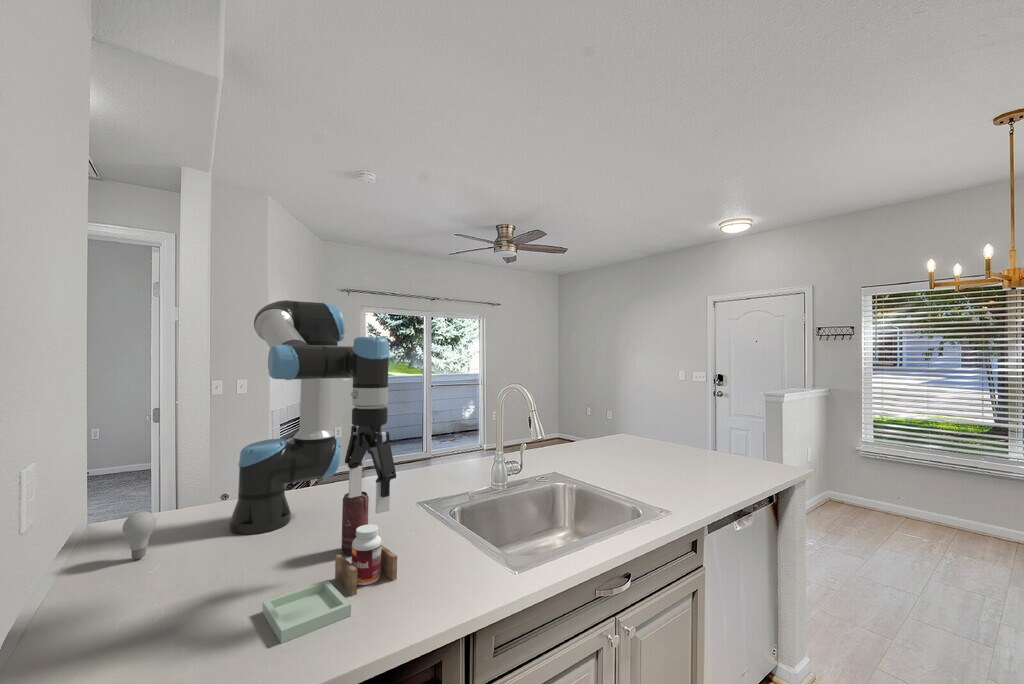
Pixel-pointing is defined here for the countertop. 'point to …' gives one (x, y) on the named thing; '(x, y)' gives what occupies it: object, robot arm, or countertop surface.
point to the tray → (305, 610)
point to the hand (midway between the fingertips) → (368, 503)
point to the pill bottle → (367, 554)
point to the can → (353, 519)
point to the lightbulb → (139, 532)
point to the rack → (348, 572)
